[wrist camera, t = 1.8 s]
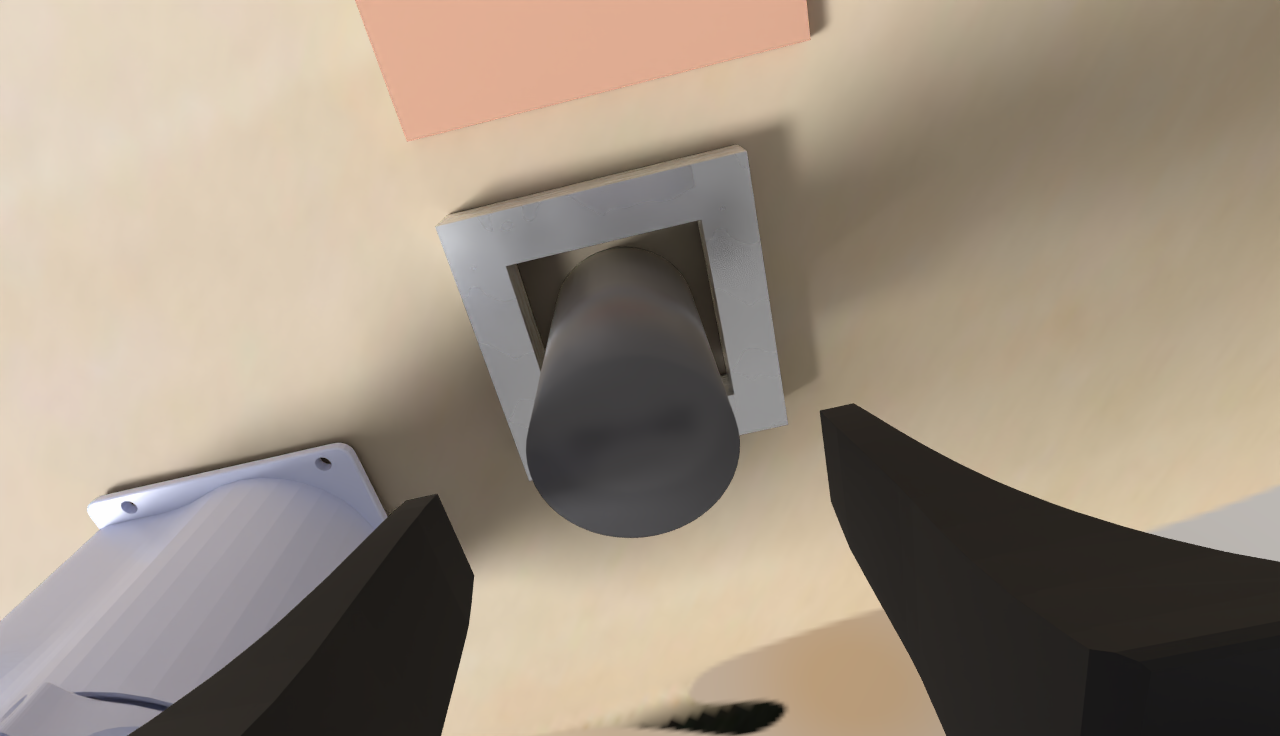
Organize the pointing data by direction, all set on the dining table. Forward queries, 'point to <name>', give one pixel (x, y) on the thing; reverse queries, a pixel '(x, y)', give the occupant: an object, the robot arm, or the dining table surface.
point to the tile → (553, 49)
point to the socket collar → (607, 212)
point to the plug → (630, 402)
